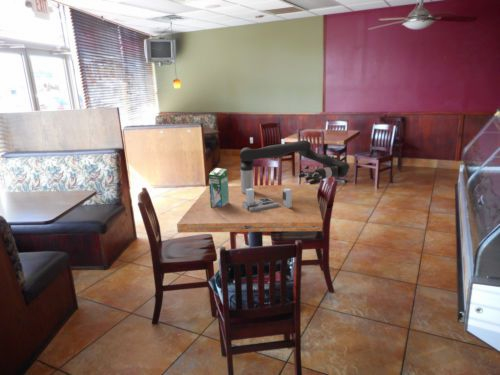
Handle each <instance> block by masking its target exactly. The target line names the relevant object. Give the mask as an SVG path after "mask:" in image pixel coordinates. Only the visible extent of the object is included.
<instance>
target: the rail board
mask: <svg viewBox="0 0 500 375" xmlns="http://www.w3.org/2000/svg"><path fill="white" fill-rule="evenodd" d="M241 203H242V204H241V205H240V206H241V207H242V208H244V209H246V210H247V211H248V212H250V213H251V214H253V213H257V212H262V211H263V212H264V211H269V210H273V209H274V210H275V209H279V208H282V205H281V204H280V202H279V201H277V202H274V200H273V199H272V198H269V197H263V198H258V199H256V201H255V200H254V204H250V205H247V204H246V200H244V201H241Z"/></svg>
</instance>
